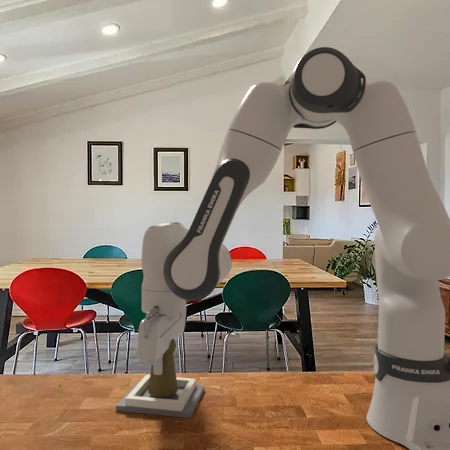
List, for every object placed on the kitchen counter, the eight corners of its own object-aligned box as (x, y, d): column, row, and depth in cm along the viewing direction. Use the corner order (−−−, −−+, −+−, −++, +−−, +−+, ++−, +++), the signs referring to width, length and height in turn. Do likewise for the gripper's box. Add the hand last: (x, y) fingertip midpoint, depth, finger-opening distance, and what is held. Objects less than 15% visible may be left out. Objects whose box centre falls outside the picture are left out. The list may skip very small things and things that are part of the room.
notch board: (204, 390, 88) (204, 378, 88) (190, 418, 76) (190, 405, 76) (139, 384, 90) (139, 373, 90) (115, 410, 79) (115, 398, 78)
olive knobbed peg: (172, 398, 80) (172, 343, 79) (143, 395, 81) (143, 341, 80) (181, 385, 85) (181, 334, 85) (154, 382, 87) (154, 332, 86)
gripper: (161, 315, 72) (161, 391, 72) (190, 292, 92) (190, 351, 92) (128, 313, 73) (128, 388, 73) (164, 290, 93) (164, 350, 93)
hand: (163, 367), depth 83 cm, fingers closed on olive knobbed peg, 4 cm apart
